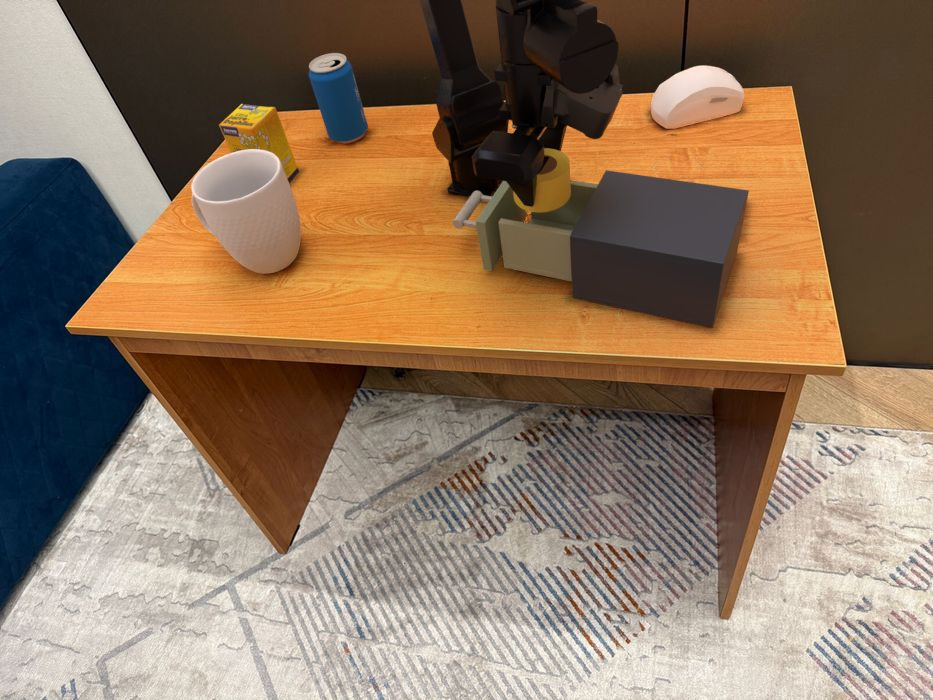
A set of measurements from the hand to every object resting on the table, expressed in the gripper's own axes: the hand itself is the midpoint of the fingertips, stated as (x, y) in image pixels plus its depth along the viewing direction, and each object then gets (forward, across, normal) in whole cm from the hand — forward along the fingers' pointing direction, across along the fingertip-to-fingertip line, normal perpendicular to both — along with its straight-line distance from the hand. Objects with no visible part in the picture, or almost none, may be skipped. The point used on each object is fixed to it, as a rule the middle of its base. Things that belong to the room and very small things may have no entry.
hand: (540, 187), depth 78 cm
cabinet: (+10, 0, -13) cm, 17 cm away
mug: (+10, -11, +36) cm, 39 cm away
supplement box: (+10, +4, +46) cm, 47 cm away
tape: (+1, 0, 0) cm, 1 cm away
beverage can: (+10, +18, +41) cm, 46 cm away
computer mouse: (+10, +36, -9) cm, 38 cm away
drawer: (+9, 0, +1) cm, 9 cm away
